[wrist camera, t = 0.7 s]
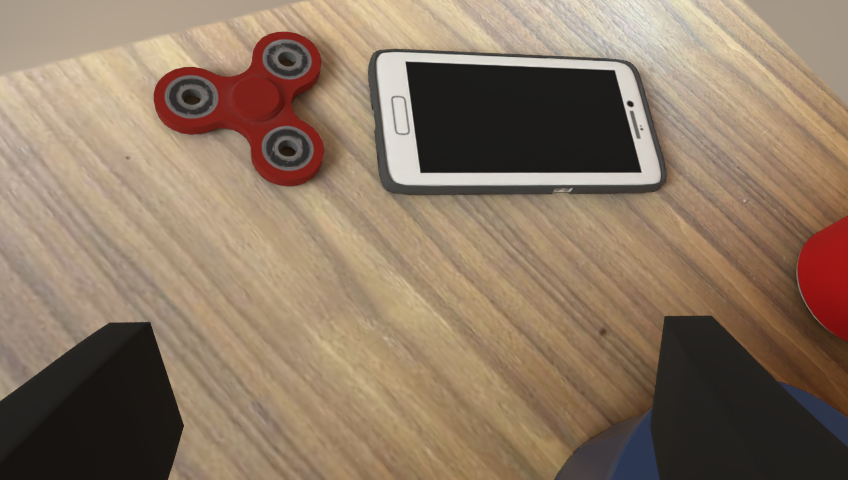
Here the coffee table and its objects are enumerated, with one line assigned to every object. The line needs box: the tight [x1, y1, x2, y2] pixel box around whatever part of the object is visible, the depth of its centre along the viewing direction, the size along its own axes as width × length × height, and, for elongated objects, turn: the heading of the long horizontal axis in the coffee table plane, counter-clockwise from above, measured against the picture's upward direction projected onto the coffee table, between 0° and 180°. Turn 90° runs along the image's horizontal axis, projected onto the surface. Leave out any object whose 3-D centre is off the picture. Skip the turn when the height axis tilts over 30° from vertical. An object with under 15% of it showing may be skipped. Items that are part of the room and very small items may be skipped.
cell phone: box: [368, 49, 667, 195], centre depth 36 cm, size 8×15×1 cm, turn 97°
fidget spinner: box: [154, 32, 324, 186], centre depth 33 cm, size 8×7×1 cm
